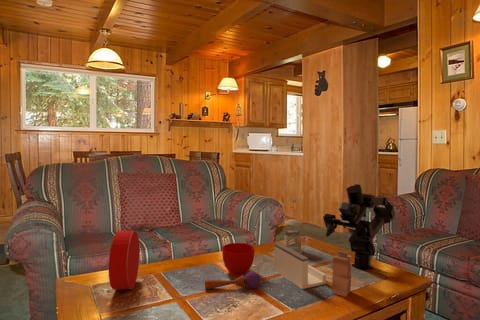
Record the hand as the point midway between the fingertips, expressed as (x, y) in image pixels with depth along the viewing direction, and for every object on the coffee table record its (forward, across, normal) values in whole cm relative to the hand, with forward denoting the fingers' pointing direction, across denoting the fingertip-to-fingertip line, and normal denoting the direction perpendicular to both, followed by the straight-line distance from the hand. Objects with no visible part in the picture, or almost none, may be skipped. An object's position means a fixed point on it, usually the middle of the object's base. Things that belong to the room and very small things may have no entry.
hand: (337, 238), depth 126 cm
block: (+13, +5, +13) cm, 19 cm away
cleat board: (+12, -13, +13) cm, 22 cm away
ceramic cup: (+24, -34, +8) cm, 42 cm away
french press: (-9, -32, +24) cm, 41 cm away
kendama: (+35, -24, +2) cm, 43 cm away
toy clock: (+59, -52, -11) cm, 79 cm away
